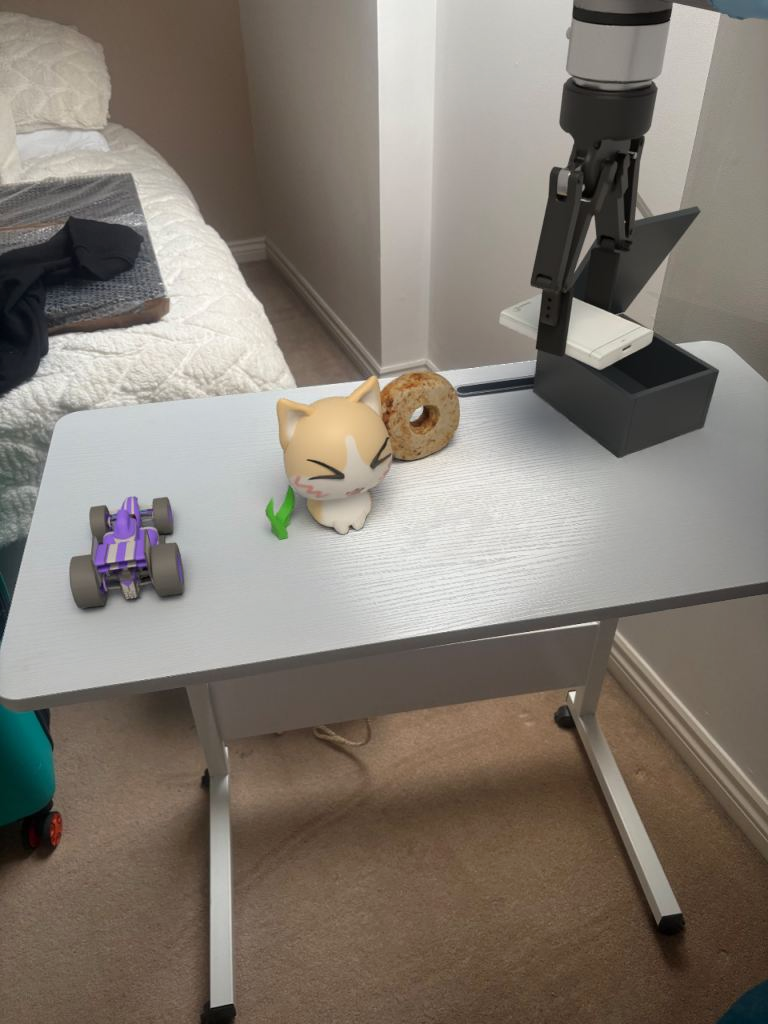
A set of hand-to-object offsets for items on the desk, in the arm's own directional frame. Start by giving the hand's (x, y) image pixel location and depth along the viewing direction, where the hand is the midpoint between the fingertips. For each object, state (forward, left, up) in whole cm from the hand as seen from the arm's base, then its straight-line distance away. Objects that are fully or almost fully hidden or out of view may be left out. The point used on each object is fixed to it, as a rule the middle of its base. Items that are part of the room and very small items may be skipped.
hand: (573, 331), depth 81 cm
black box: (+1, -17, -17) cm, 24 cm away
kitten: (+14, +20, -18) cm, 30 cm away
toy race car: (+26, +37, -18) cm, 49 cm away
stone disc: (+15, +6, -18) cm, 24 cm away
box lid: (+4, -18, -2) cm, 19 cm away
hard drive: (0, 0, 0) cm, 0 cm away
